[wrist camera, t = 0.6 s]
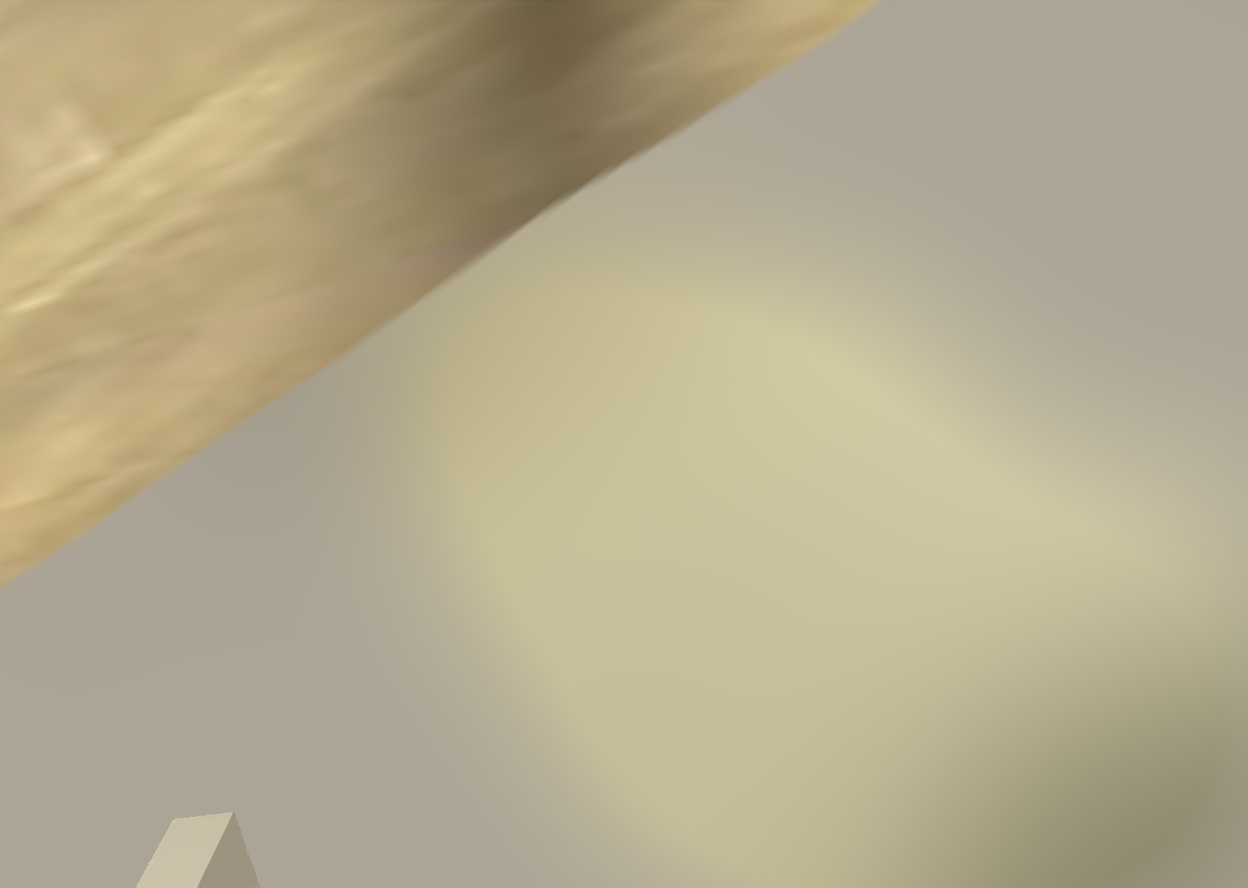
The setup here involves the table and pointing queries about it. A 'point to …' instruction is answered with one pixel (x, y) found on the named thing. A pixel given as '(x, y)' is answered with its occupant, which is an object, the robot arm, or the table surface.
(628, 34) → the table surface
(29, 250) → the table surface
